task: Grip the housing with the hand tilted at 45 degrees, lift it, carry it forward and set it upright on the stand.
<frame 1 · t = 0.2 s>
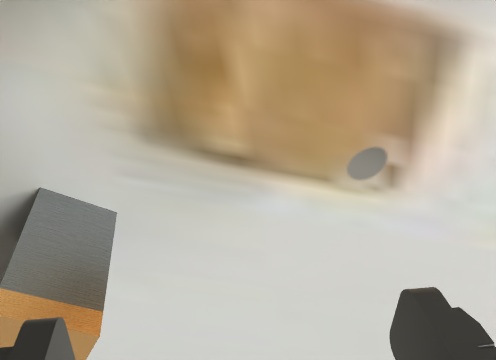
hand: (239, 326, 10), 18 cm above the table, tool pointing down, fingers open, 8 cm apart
housing: (67, 227, 29), on the table
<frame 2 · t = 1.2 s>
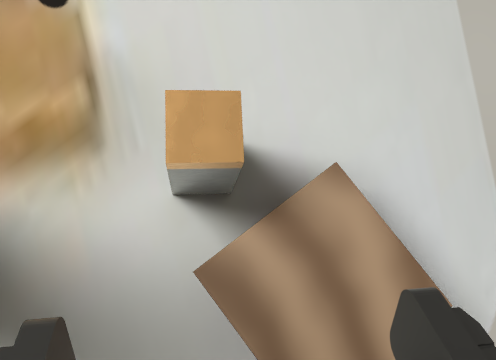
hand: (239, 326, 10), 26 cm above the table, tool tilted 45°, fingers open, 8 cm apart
stand: (309, 288, 37), on the table
housing: (201, 166, 38), on the table
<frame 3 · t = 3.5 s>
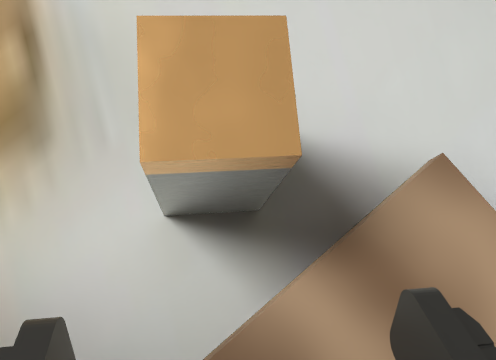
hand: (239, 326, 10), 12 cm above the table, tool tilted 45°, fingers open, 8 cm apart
housing: (209, 167, 24), on the table
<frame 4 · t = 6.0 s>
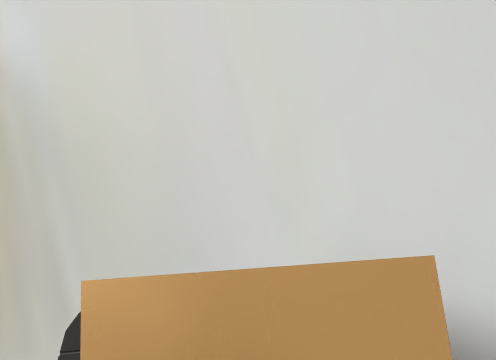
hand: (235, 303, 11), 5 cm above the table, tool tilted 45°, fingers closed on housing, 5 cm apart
housing: (229, 353, 15), on the table, touching gripper
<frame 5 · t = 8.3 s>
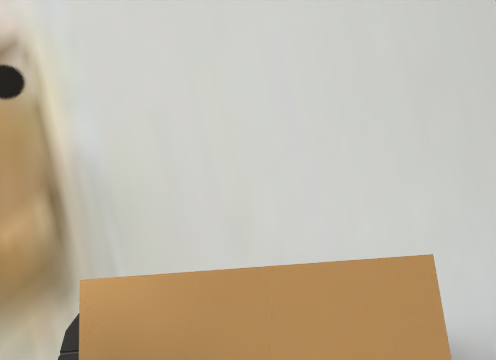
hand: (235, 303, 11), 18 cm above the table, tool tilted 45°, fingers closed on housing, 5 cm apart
housing: (228, 353, 15), point 13 cm above the table, touching gripper
when the fingers open (11 cm above the table, at t = 10.9 s): housing drops 1 cm, resting on stand.
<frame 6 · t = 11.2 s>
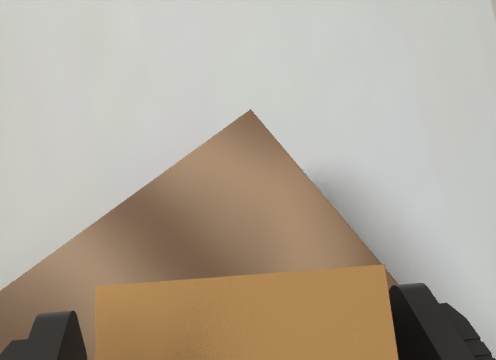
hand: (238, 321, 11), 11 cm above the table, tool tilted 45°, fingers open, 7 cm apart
stand: (219, 335, 21), on the table
housing: (223, 349, 16), point 5 cm above the table, touching stand
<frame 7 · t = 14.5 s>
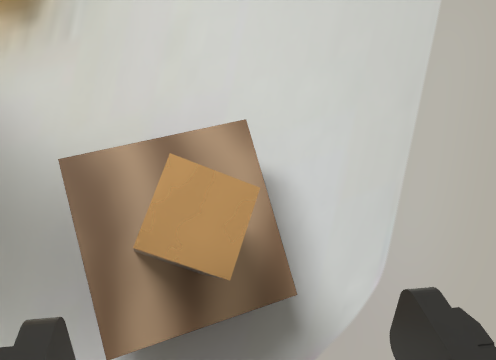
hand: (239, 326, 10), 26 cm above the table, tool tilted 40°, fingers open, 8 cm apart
stand: (176, 233, 36), on the table
housing: (180, 229, 31), point 5 cm above the table, touching stand
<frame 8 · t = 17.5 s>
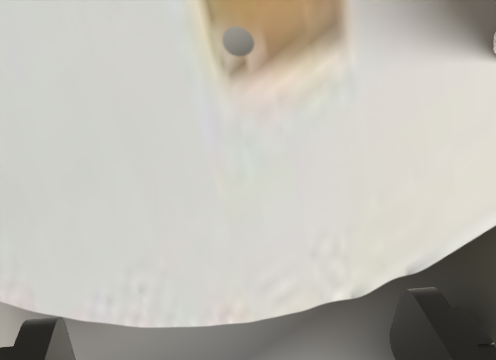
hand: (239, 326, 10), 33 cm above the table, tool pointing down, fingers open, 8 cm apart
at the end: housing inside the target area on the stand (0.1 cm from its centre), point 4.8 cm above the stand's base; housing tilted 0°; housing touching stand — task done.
